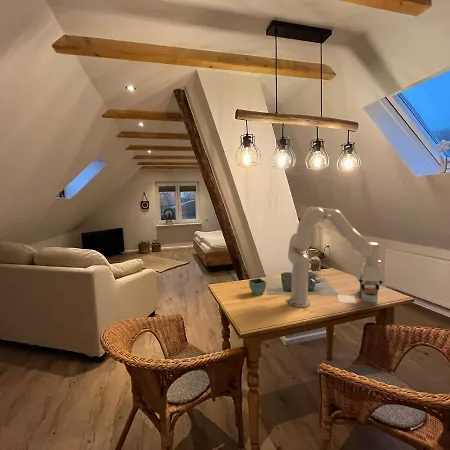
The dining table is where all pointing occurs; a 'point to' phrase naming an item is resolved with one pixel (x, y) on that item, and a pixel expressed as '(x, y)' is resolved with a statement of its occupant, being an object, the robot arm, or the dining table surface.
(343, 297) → the mat
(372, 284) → the pillar candle
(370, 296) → the bowl
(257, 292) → the flower pot
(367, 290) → the board
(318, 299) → the dining table surface
